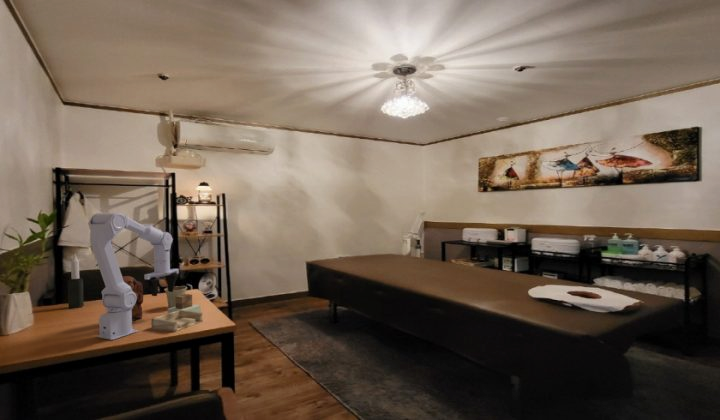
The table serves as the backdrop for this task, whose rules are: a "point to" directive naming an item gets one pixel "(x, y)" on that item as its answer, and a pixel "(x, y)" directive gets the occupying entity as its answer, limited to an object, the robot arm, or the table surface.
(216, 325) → the table surface
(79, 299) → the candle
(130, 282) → the wooden figurine
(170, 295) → the flower pot
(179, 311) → the birch box
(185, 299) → the walnut block
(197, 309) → the sage stand
